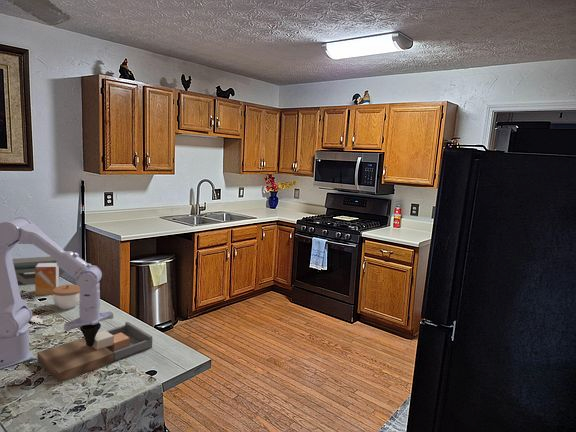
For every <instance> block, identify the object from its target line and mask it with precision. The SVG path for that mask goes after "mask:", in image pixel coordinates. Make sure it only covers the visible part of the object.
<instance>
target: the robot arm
mask: <svg viewBox="0 0 576 432" xmlns="http://www.w3.org/2000/svg"><path fill="white" fill-rule="evenodd" d="M16 244H19V245H34V246H35V247H36V248H37V249H39V250H41V251H42V252H43V253H45V254H47V256H48V255H49V257H53V258H54V259H56V261H57V266H58V267H60V268H61V269H62V270H64V271H65V272H64V273H66V274H68V275H69V276H70V277H72V278H73V279H75V281H76V285H78V286H79V287H80V292H79V301H80V302H79V317H78V318H76V319H73V320H71V321H68V322H67V323H65V324H64V327H63V330H64V331H65V332H70V331H71V330H74V329H78V328H79V330H80V331H81V333H82V335H83V338H85V341H86V345H87V346H89V347H90V346H93V343H94V339H95V337H96V334H97V333H98V332H99V330H100V329H101V326H102V325H101V323H100V322H102V321H106V320H113V319H114V312H112V311H110V310H109V311H105V312H101V307H100V306H101V301H100V300H101V290H100V284H101V283H100V280H101V279H102V277H103V273H102V270H101V269H100V268H99V266H97V265H94V264H93V265H92V263H88V262H87V261H85V260H84V259H83V258H82V257H80V253H78V252H74V251H71V250H70V251H69V250H67V251H65V250H64V249H63V248H62V247H60V245H58V244H57V243H56V242H55V241H54V240H53V239H52V238H50V237H49V236H48V235H47V234H46V233H44V232H43V231H42V230H41V229H40V228H39V226H38V225H36V224H35V223H34V222H31V220H29V219H28V218H26V217H24V216H23V217H22V216H19V217H14V218H13V219H10V220H7V221H3V222H0V370H1V369H5V368H8V367H11V366H13V365H18V364H21V363H24V362H27V361H30V360H33V359H35V355H34V354H32V353H31V352H30V331H29V330H30V327H29V322H31V321H30V320H31V318H32V316H33V312H32V310H31V309H30V307H28V304H27V301H26V300H25V299H23V298H22V297H21V292H20V288H19V287H20V286H19V283H18V282H19V281H18V280H17V278H16V273H15V269H14V264H13V260H12V259H13V255H12V251H11V250H12V249H13V248H15V246H17V245H16Z"/></svg>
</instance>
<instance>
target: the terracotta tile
mask: <svg viewBox="0 0 576 432" xmlns="http://www.w3.org/2000/svg"><path fill="white" fill-rule="evenodd" d="M113 336H114V344H113V345H110V346H107V347H108V348H110V349H111V350H113V351H117V350H119V349H122V348H125V347H128V346H130V338H129V337H128V336H126V335H124V334H123V333H118V334H115V335H113Z"/></svg>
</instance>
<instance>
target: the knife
mask: <svg viewBox="0 0 576 432" xmlns="http://www.w3.org/2000/svg"><path fill="white" fill-rule="evenodd" d="M37 317H38V318H37ZM43 321H44V320H42V319H41V317H39V315H38V314H36V315H32V318H31V320H30V321H29V322H31V323H34V322H35V323H34V324H37V323H38V322H40V323H41V324H42V322H43ZM38 324H39V323H38ZM38 324H37V325H38Z"/></svg>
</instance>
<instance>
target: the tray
mask: <svg viewBox="0 0 576 432" xmlns="http://www.w3.org/2000/svg"><path fill="white" fill-rule="evenodd" d="M106 331H107V332H109V333H110V334H112V335H115V334H118V333H123V334H124V335H126V336H128V337H129V338H130V346H128V347H125V348H122V349H119V350H117V351H113V350H111V349H110V348H108V347H106V348H107V349H109V350H110V351H111V352H113V353H114V362H113V363H115V362H117V361H119V360H123V359H126V358H128V357H130V356H134V355H136V354H139V353H141V352H143V351H144V352H145V351H146V350H149V349H152V348H153V336H152V335H151V334H149V333H147V332H145V331H144V330H142V329H141V328H139V327H138V326H136V325H133V323H131V322H129V321H126V322H125V323H124V325H122V326H118V327H115V328H111V329H109V330H106Z"/></svg>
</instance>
